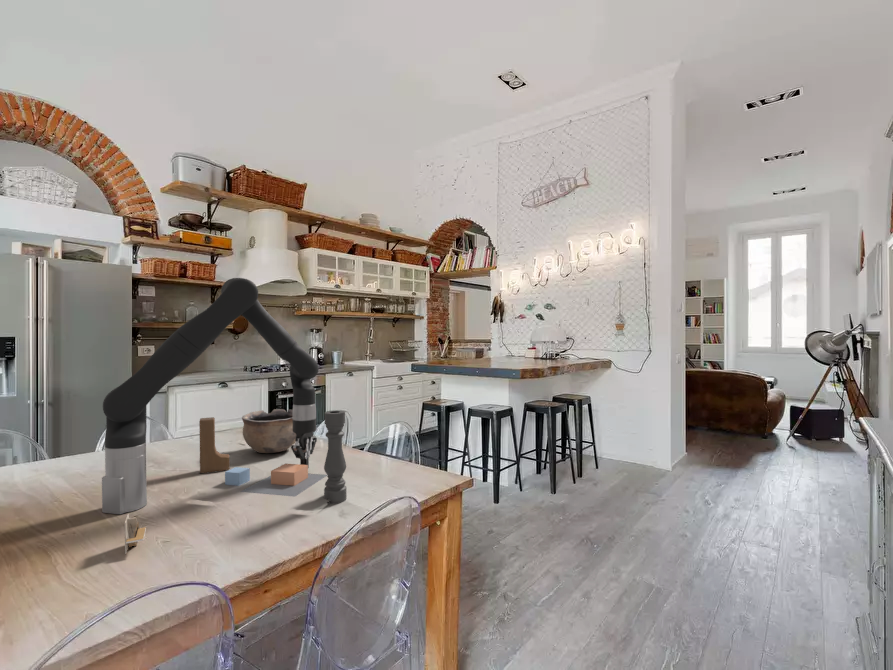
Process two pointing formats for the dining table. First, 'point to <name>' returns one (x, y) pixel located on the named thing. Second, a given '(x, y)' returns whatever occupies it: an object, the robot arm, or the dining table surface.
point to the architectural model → (133, 532)
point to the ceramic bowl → (269, 430)
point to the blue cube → (237, 476)
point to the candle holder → (335, 458)
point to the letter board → (283, 486)
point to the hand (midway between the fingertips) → (304, 469)
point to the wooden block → (210, 448)
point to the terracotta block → (289, 474)
